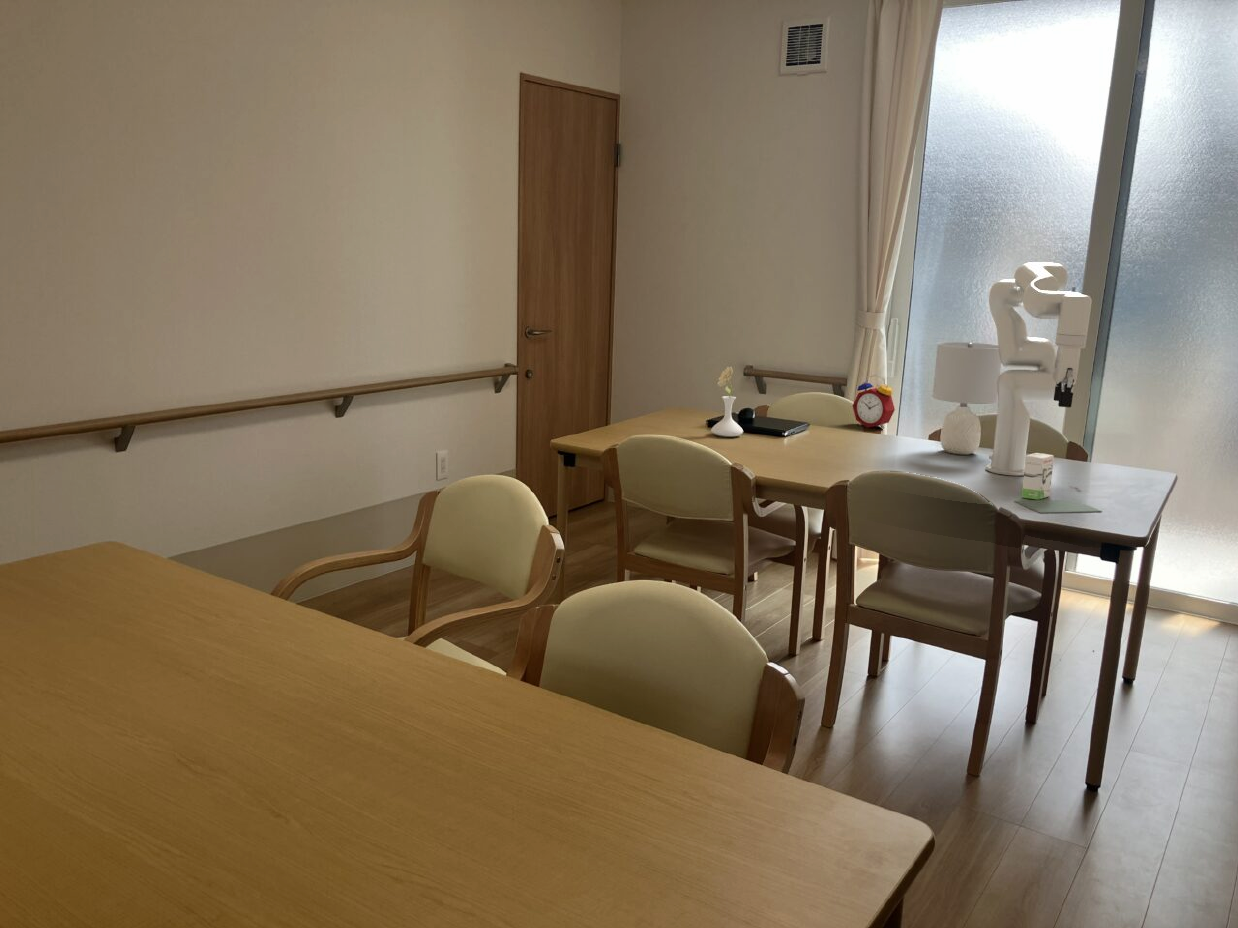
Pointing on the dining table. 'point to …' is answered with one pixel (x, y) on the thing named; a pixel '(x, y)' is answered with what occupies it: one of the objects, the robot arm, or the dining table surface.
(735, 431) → the flower in vase
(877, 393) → the alarm clock
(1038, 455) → the ink box
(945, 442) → the lamp
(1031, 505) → the felt mat
